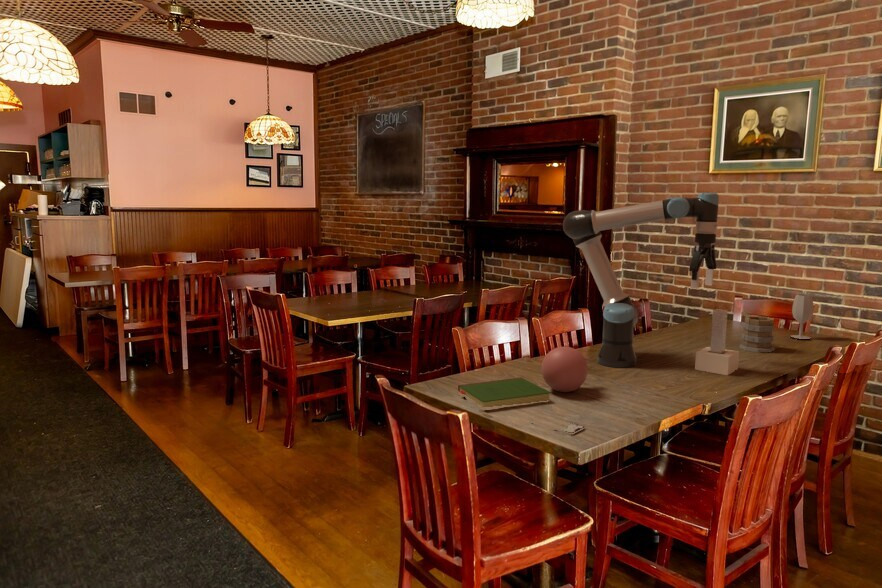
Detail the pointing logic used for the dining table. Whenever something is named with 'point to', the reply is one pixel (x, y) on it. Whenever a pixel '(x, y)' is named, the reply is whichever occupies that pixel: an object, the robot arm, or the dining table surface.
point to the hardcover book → (504, 392)
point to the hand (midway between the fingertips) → (701, 286)
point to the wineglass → (802, 312)
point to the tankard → (757, 333)
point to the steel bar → (718, 331)
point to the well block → (717, 361)
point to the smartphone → (573, 428)
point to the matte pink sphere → (564, 369)
